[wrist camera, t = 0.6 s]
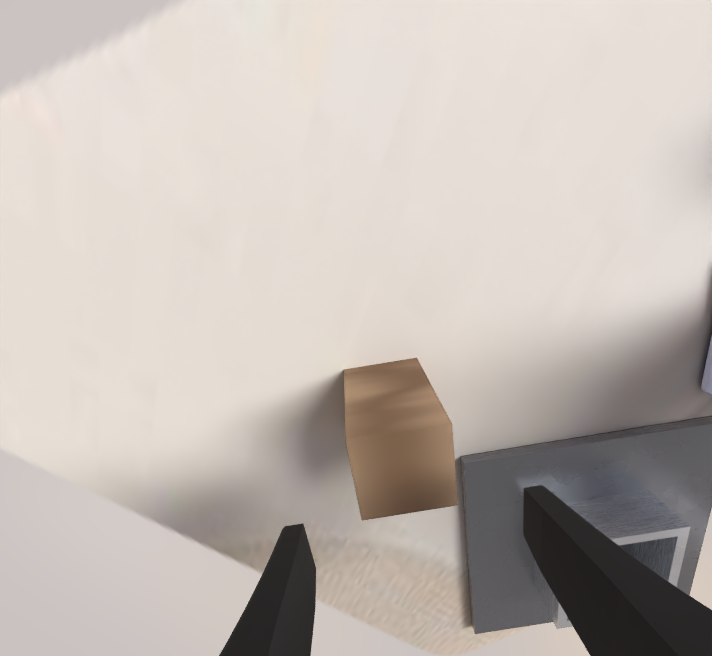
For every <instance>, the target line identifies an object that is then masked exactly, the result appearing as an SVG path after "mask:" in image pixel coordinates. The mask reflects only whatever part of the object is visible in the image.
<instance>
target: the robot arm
mask: <svg viewBox="0 0 712 656" xmlns="http://www.w3.org/2000/svg"><path fill="white" fill-rule="evenodd" d="M701 388H702V390H703V391H705V392H707V393H709V394H712V336H711V341H710V346H709V351H708V356H707V360H706V365H705V370H704V375H703V380H702V385H701ZM523 535H524V537H525V540H526V542H527V544H528V546H529V548H530V550H531V553H532V555H533V557H534V559H535V561H536V563H537V565H538V567H539V569H540V571H541V573H542V575H543V576H544V578H545V580H546V582H547V583H548V585H549V587H550V588H551V590H552V592H553V593H554V595H555V597H556V598H557V600H558V602H559V604H560V605H561V607H562V609H563V610H564V612H565V614H566V615H567V617H568V619H569V620H570V622H571V624H572V625H573V627H574V629H575V630H576V632H577V633H578V635H579V637H580V639H581V640H582V642H583V644H584V645H585V647H586V648H587V650H588V652H589V654H590V655H591V656H712V610H711V609H709V608H707V607H706V606H704V605H703V604H701V603H700V602H698V601H696V600H695V599H694V598H692V597H690V596H689V595H687V594H686V593H684V592H683V591H681V590H680V589H678V588H677V587H675V586H674V585H673V584H671V583H670V582H668V581H667V580H665V579H664V578H662V577H661V576H660V575H658V574H657V573H655V572H654V571H653V570H651V569H650V568H648V567H647V566H646V565H644V564H643V563H641V562H640V561H639V560H637V559H636V558H635V557H633V556H632V555H631V554H629V553H628V552H626V551H625V550H624V549H622V548H621V547H620V546H619V545H617V544H616V543H615V542H613V541H612V540H611V539H609V538H608V537H607V536H606V535H604V534H603V533H602V532H600V531H599V530H598V529H597V528H595V527H594V526H593V525H591V524H590V523H589V522H588V521H586V520H585V519H584V518H583V517H581V516H580V515H579V514H578V513H577V512H575V511H574V510H573V509H572V508H570V507H569V506H568V505H567V504H565V503H564V502H563V501H562V500H561V499H559V498H558V497H557V496H556V495H555V494H553V493H552V492H551V491H550V490H548V489H547V488H546V487H545V486H543V485H538V486H532V487H526V488H524V497H523ZM315 596H316V567H315V563H314V560H313V556H312V553H311V549H310V546H309V542H308V539H307V535H306V532H305V528H304V524H297V525H291V526H285V527H284V528H283V529H282V531H281V534H280V536H279V539H278V541H277V543H276V546H275V548H274V550H273V552H272V555H271V557H270V559H269V561H268V563H267V566H266V568H265V570H264V572H263V574H262V576H261V578H260V581H259V582H258V585H257V586H256V588H255V591H254V593H253V594H252V597H251V598H250V601H249V602H248V604H247V607H246V608H245V610H244V612H243V614H242V616H241V617H240V619H239V621H238V623H237V625H236V627H235V628H234V630H233V632H232V634H231V636H230V638H229V639H228V641H227V643H226V645H225V647H224V648H223V650H222V652H221V654H220V655H219V656H310V654H311V643H312V635H313V625H314V615H315Z"/></svg>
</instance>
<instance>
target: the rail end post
mask: <svg viewBox="0 0 712 656" xmlns="http://www.w3.org/2000/svg"><path fill="white" fill-rule="evenodd" d="M344 393H345V437H346V445H347V450H348V455H349V460H350V465H351V470H352V475H353V480H354V484H355V489H356V494H357V499H358V504H359V509H360V514H361V519H362V520H368V519H374V518H381V517H387V516H393V515H399V514H406V513H412V512H418V511H424V510H431V509H437V508H443V507H449V506H456V505H458V499H457V486H456V473H455V459H454V446H453V433H452V423H451V421H450V419H449V417H448V416H447V414H446V412H445V410H444V408H443V406H442V404H441V402H440V401H439V399H438V397H437V395H436V393H435V391H434V389H433V387H432V386H431V384H430V382H429V380H428V378H427V376H426V374H425V372H424V371H423V369H422V367H421V365H420V363H419V361H418V359H417V358H412V359H406V360H400V361H394V362H388V363H382V364H376V365H370V366H363V367H357V368H351V369H345V370H344Z"/></svg>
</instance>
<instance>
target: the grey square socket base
mask: <svg viewBox="0 0 712 656" xmlns="http://www.w3.org/2000/svg"><path fill="white" fill-rule="evenodd" d="M461 470H462V485H463V500H464V514H465V529H466V544H467V558H468V573H469V588H470V602H471V617H472V626H473V629H474V632H475V634H478V633H485V632H491V631H497V630H504V629H510V628H517V627H523V626H530V625H536V624H543V623H549V622H554V624H555V626H556V627H557V628H565V627H571V626H573V625H572V624H571V622H570V620H569V619H568V617H567V615H566V614H565V612H564V610H563V609H562V607H561V605H560V604H559V602H558V600H557V598H556V597H555V595H554V593H553V592H552V590H551V588H550V587H549V585H548V583H547V582H546V580H545V578H544V576H543V575H542V573H541V571H540V569H539V567H538V565H537V563H536V561H535V559H534V557H533V555H532V553H531V550H530V548H529V546H528V544H527V542H526V540H525V537H524V535H523V497H524V488H526V487H532V486H538V485H543V486H545V487H546V488H547V489H548V490H550V491H551V492H552V493H553V494H555V495H556V496H557V497H558V498H559V499H561V500H562V501H563V502H564V503H565V504H567V505H568V506H569V507H570V508H572V509H573V510H574V511H575V512H577V513H578V514H579V515H580V516H581V517H583V518H584V519H585V520H586V521H588V522H589V523H590V524H591V525H593V526H594V527H595V528H597V529H598V530H599V531H600V532H602V533H603V534H604V535H606V536H607V537H608V538H609V539H611V540H612V541H613V542H615V543H616V544H617V545H619V546H620V547H621V548H622V549H624V550H625V551H626V552H628V553H629V554H631V555H632V556H633V557H635V558H636V559H637V560H639V561H640V562H641V563H643V564H644V565H646V566H647V567H648V568H650V569H651V570H653V571H654V572H655V573H657V574H658V575H660V576H661V577H662V578H664V579H665V580H667V581H668V582H670V583H671V584H673V585H674V586H675V587H677V588H678V589H680V590H681V591H683V592H684V593H686V594H687V595H689V594H690V590H691V587H692V583H693V578H694V575H695V571H696V567H697V563H698V559H699V555H700V551H701V547H702V543H703V539H704V535H705V532H706V528H707V524H708V519H709V516H710V512H711V508H712V416H709V417H703V418H697V419H691V420H685V421H678V422H672V423H666V424H660V425H653V426H647V427H641V428H635V429H629V430H622V431H616V432H610V433H604V434H597V435H591V436H585V437H579V438H573V439H566V440H560V441H554V442H548V443H541V444H535V445H529V446H523V447H517V448H510V449H504V450H498V451H492V452H485V453H479V454H473V455H467V456H461Z"/></svg>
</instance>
